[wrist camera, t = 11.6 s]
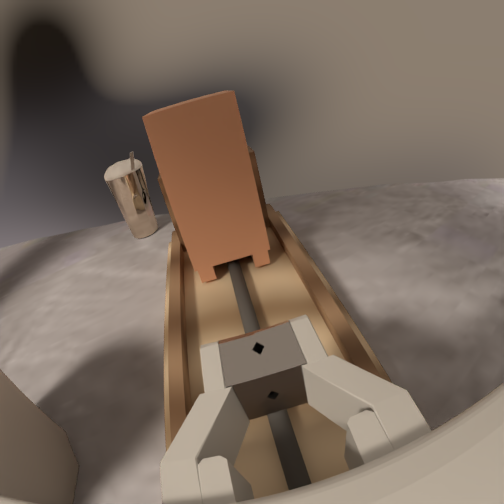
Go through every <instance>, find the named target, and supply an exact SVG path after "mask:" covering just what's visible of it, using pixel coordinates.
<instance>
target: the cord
mask: <svg viewBox="0 0 504 504" xmlns="http://www.w3.org/2000/svg"><path fill="white" fill-rule="evenodd" d="M227 265H228V269H229V273H230V277H231V281H232V285H233V289H234V293H235V297H236V301H237V305H238V308H239V312H240V316H241V320H242V324H243V328H244V332H245V334H246V333H250V332H253V331H256V330H259V329H260V326H259V323H258V320H257V316H256V313H255V310H254V307H253V304H252V301H251V297H250V294H249V291H248V288H247V285H246V282H245V278H244V275H243V272H242V269H241V266H240V262H239V259H236V260H233V261H229V262H227ZM267 417H268V420H269V424H270V427H271V431H272V434H273V438H274V441H275V445H276V448H277V452H278V455H279V459H280V462H281V465H282V469H283V472H284V475H285V479H286V482H287V485H288V489H289V490H292V489H295V488H299V487H302V486H306V485H309V484H312V483H311V480H310V477H309V474H308V471H307V468H306V466H305V463H304V460H303V457H302V454H301V451H300V448H299V445H298V442H297V439H296V436H295V433H294V430H293V427H292V424H291V421H290V418H289V415H288V412H287V409H285V410H281V411H278V412H275V413H272V414H268V415H267Z"/></svg>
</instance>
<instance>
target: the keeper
mask: <svg viewBox="0 0 504 504" xmlns="http://www.w3.org/2000/svg"><path fill="white" fill-rule="evenodd" d="M142 118H143V121H144V124H145V127H146V131H147V134H148V137H149V141H150V144H151V147H152V150H153V154H154V157H155V160H156V163H157V166H158V169H159V172H160V175H161V178H162V181H163V184H164V187H165V190H166V193H167V196H168V199H169V202H170V205H171V208H172V211H173V213H174V216H175V219H176V222H177V225H178V228H179V230H180V233H181V236H182V239H183V241H184V244H185V247H186V250H187V252H188V255H189V258H190V260H191V263H192V266H193V268H194V271H198V273H199V276H200V279H201V281H202V283H204V282H207V281H211V280H214V279H217V277H216V272H215V265H219V264H222V263H226V262H229V261H233V260H236V259H239V258H243V257H246V256H250V255H251V256H252V259H253V262H254V264H255V267H259V266H262V265H265V264H269V263H270V259H269V254H268V250H270V246H269V241H268V237H267V232H266V227H265V223H264V218H263V214H262V209H261V205H260V200H259V196H258V191H257V187H256V182H255V178H254V174H253V169H252V165H251V160H250V156H249V152H248V147H247V143H246V139H245V135H244V130H243V126H242V122H241V117H240V113H239V109H238V105H237V101H236V96H235V92H234V91H221V92H217V93H214V94H209V95H206V96H202V97H198V98H195V99H191V100H188V101H184V102H181V103H177V104H174V105H171V106H168V107H165V108H161V109H158V110H155V111H152V112H150V113H149V114H147V115H145V116H143V117H142Z"/></svg>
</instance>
